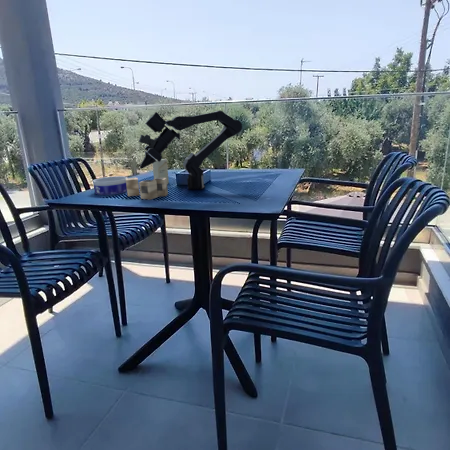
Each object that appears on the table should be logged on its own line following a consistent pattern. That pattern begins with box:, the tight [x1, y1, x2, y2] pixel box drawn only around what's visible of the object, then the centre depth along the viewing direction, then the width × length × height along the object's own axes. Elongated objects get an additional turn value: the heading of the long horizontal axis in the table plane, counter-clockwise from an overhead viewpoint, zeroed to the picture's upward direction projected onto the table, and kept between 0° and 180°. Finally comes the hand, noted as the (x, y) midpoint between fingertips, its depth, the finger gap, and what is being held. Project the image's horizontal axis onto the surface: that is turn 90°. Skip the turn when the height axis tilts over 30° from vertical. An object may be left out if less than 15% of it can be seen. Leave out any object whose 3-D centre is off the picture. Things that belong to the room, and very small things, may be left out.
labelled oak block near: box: [138, 179, 159, 201], centre depth 147 cm, size 5×5×7 cm
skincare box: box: [151, 158, 170, 185], centre depth 176 cm, size 6×4×12 cm
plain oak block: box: [126, 177, 141, 197], centre depth 155 cm, size 5×5×7 cm
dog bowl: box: [92, 175, 128, 196], centre depth 165 cm, size 15×15×6 cm
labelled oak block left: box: [152, 178, 169, 197], centre depth 152 cm, size 5×5×7 cm
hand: (140, 168), depth 154 cm, fingers closed
